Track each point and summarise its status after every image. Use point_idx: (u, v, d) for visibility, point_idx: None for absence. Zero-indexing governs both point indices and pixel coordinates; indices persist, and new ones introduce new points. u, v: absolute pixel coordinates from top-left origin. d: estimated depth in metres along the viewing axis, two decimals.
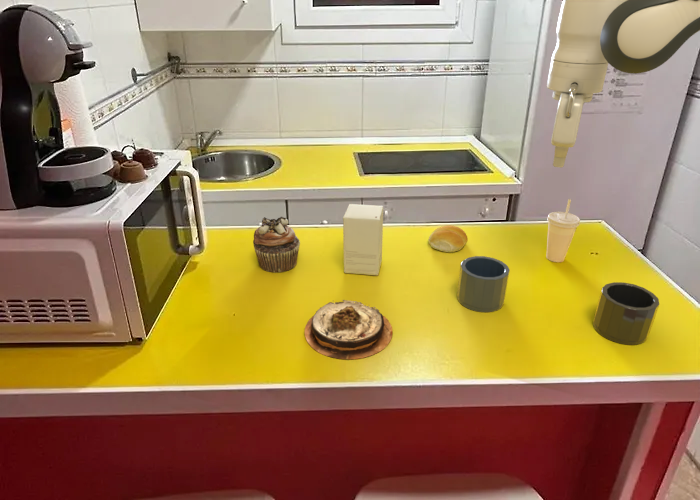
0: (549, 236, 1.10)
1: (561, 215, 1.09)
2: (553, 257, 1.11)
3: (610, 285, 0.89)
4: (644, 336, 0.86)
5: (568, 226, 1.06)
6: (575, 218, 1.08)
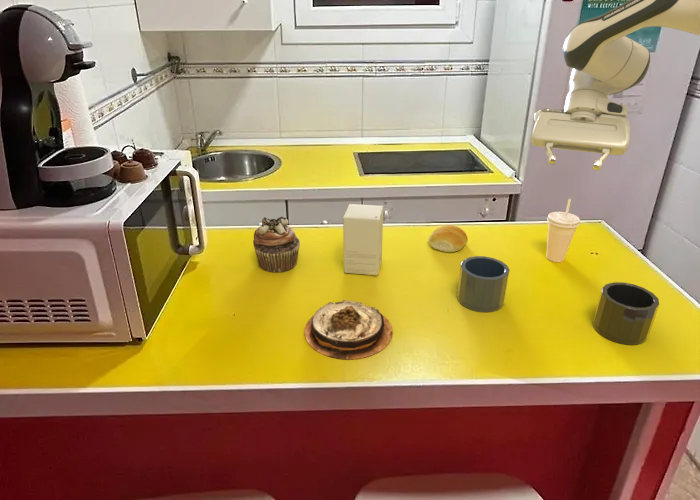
0: (549, 236, 1.10)
1: (561, 215, 1.09)
2: (553, 257, 1.11)
3: (610, 285, 0.89)
4: (644, 336, 0.86)
5: (568, 226, 1.06)
6: (575, 218, 1.08)
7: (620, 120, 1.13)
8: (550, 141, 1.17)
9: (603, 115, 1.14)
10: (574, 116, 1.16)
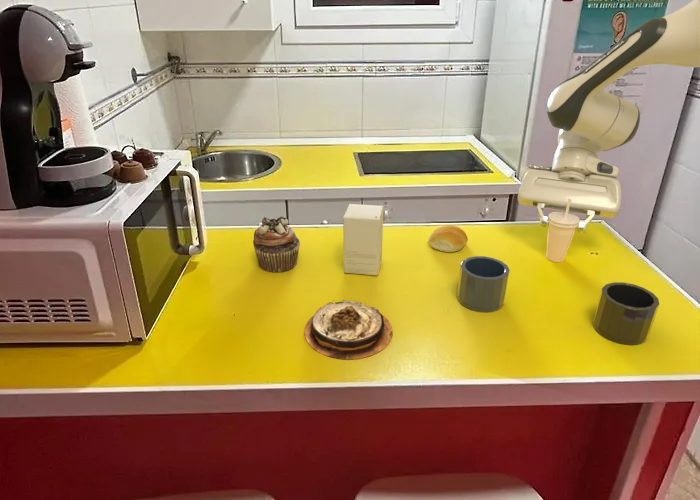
0: (549, 236, 1.10)
1: (561, 215, 1.09)
2: (553, 257, 1.11)
3: (610, 285, 0.89)
4: (644, 336, 0.86)
5: (568, 226, 1.06)
6: (575, 218, 1.08)
7: (610, 181, 1.07)
8: (537, 201, 1.11)
9: (593, 176, 1.08)
10: (562, 175, 1.10)
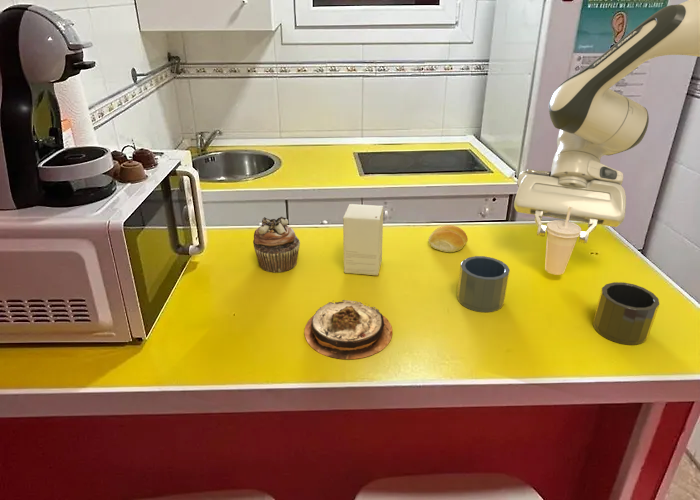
0: (548, 247, 1.02)
1: (561, 224, 1.01)
2: (552, 269, 1.03)
3: (610, 285, 0.89)
4: (644, 336, 0.86)
5: (568, 236, 0.98)
6: (576, 227, 1.00)
7: (614, 188, 0.99)
8: (535, 209, 1.03)
9: (595, 181, 1.00)
10: (562, 181, 1.02)
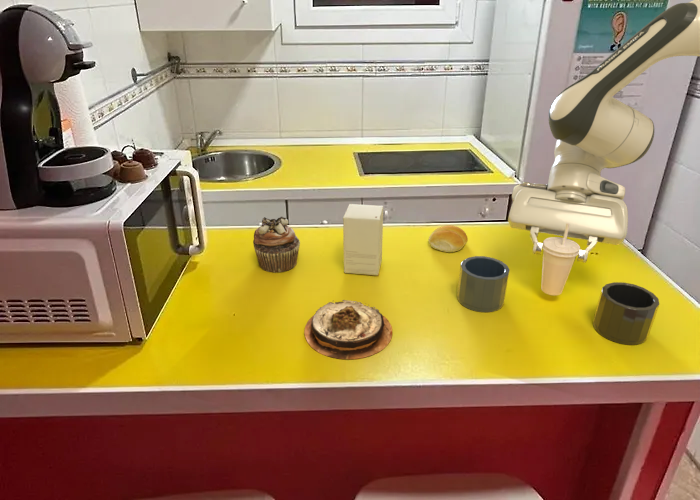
0: (544, 266, 0.95)
1: (558, 241, 0.94)
2: (549, 289, 0.96)
3: (610, 285, 0.89)
4: (644, 336, 0.86)
5: (566, 255, 0.91)
6: (574, 245, 0.93)
7: (616, 203, 0.92)
8: (531, 225, 0.96)
9: (595, 196, 0.93)
10: (560, 195, 0.95)
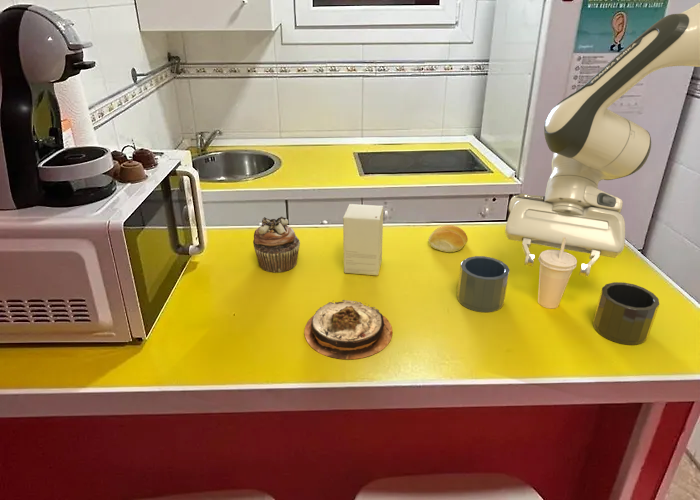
0: (541, 279, 0.94)
1: (555, 255, 0.93)
2: (546, 303, 0.95)
3: (610, 285, 0.89)
4: (644, 336, 0.86)
5: (563, 269, 0.90)
6: (571, 258, 0.92)
7: (613, 216, 0.91)
8: (527, 237, 0.95)
9: (592, 209, 0.92)
10: (557, 208, 0.94)
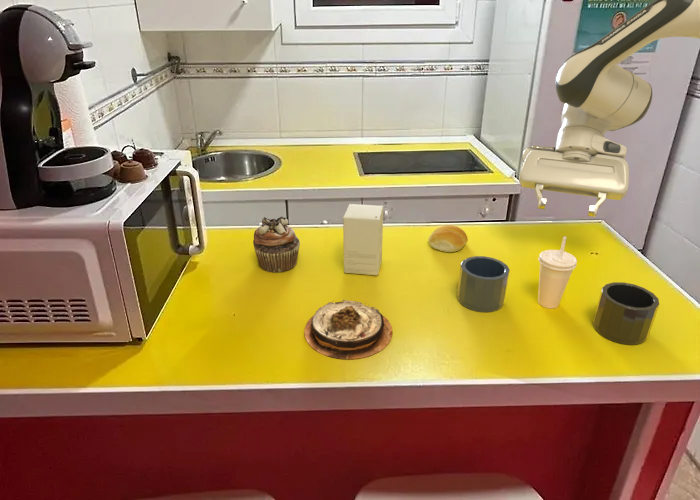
0: (541, 279, 0.94)
1: (555, 255, 0.93)
2: (546, 303, 0.95)
3: (610, 285, 0.89)
4: (644, 336, 0.86)
5: (563, 269, 0.90)
6: (571, 258, 0.92)
7: (618, 161, 1.01)
8: (540, 183, 1.05)
9: (599, 155, 1.02)
10: (566, 156, 1.04)
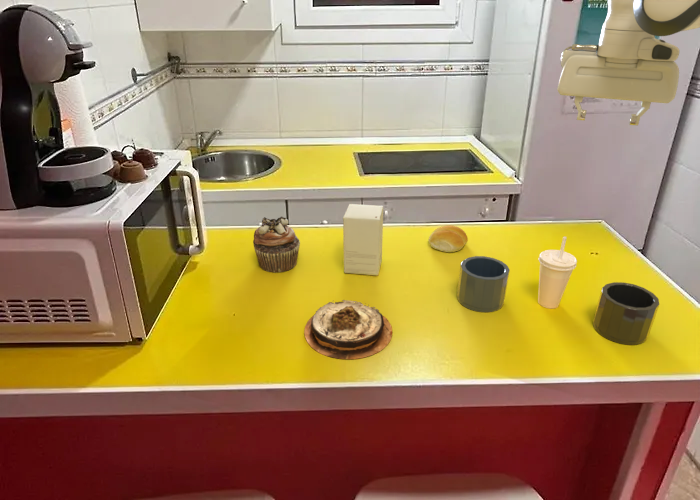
0: (541, 279, 0.94)
1: (555, 255, 0.93)
2: (546, 303, 0.95)
3: (610, 285, 0.89)
4: (644, 336, 0.86)
5: (563, 269, 0.90)
6: (571, 258, 0.92)
7: (667, 67, 0.91)
8: (579, 96, 1.00)
9: (646, 63, 0.92)
10: (609, 64, 0.95)
